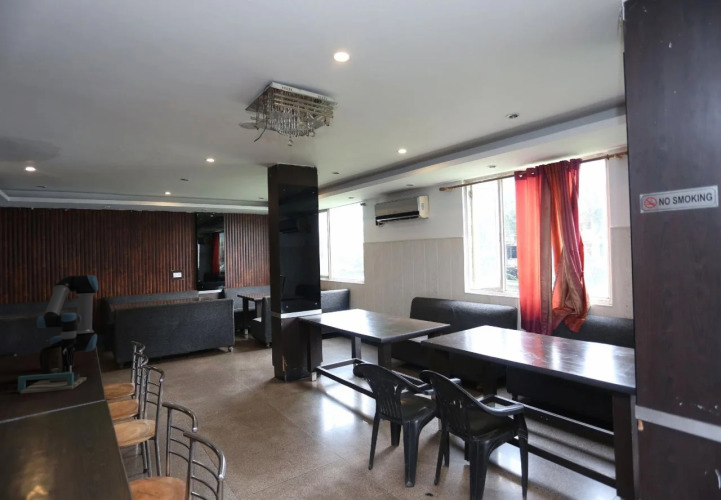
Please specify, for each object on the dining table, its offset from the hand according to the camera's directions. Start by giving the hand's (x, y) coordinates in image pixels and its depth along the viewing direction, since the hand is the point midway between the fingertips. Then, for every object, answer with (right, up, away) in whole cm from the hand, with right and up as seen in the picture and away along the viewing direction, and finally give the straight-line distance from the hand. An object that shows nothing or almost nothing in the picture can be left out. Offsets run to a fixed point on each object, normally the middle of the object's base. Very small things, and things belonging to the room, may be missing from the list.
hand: (68, 376), depth 243 cm
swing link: (+2, -1, -5) cm, 5 cm away
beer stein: (-19, -4, +8) cm, 21 cm away
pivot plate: (0, -3, -10) cm, 10 cm away
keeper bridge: (-1, -3, -16) cm, 16 cm away
